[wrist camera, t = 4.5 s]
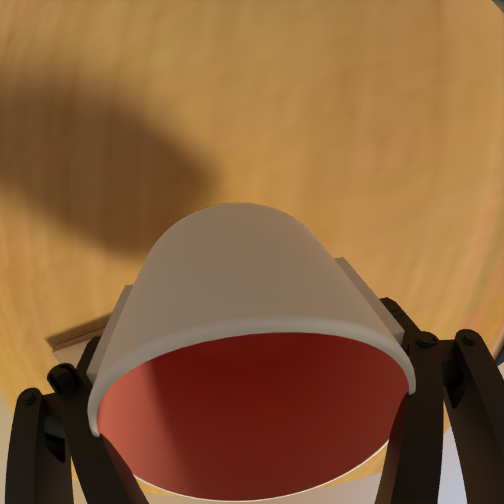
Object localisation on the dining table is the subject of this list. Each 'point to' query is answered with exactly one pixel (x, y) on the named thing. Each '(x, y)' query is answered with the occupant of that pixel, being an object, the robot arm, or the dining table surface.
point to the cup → (246, 363)
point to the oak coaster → (74, 348)
